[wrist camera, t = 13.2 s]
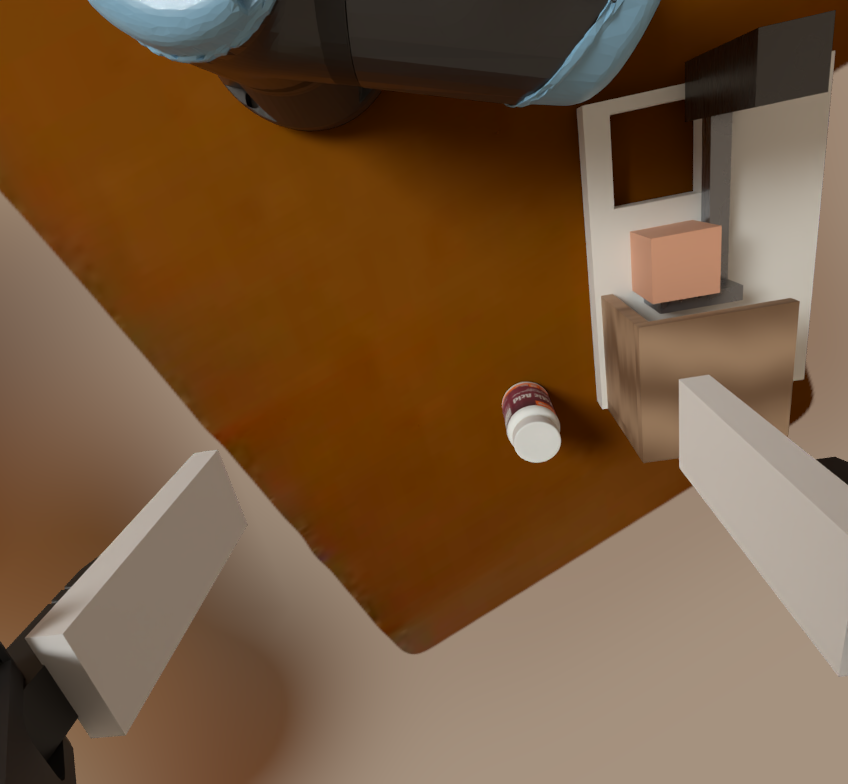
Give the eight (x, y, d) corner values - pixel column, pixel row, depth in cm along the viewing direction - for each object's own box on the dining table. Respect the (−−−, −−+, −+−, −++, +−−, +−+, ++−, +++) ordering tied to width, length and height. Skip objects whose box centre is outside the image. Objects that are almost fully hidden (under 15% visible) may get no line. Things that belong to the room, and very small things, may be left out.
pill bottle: (551, 380, 51) (569, 418, 43) (546, 424, 53) (562, 467, 45) (502, 379, 51) (511, 417, 43) (499, 423, 53) (507, 466, 45)
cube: (629, 231, 43) (650, 238, 38) (692, 219, 42) (721, 225, 38) (632, 290, 45) (652, 304, 40) (692, 280, 44) (720, 292, 40)
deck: (576, 108, 41) (582, 105, 40) (817, 56, 39) (835, 50, 37) (597, 400, 51) (602, 409, 49) (790, 371, 49) (804, 379, 47)
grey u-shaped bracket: (636, 73, 39) (693, 42, 29) (742, 49, 38) (835, 10, 28) (643, 302, 45) (692, 335, 36) (734, 286, 44) (807, 317, 35)
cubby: (600, 296, 45) (638, 327, 36) (727, 273, 44) (799, 301, 35) (607, 408, 49) (643, 462, 40) (723, 391, 48) (787, 443, 39)
